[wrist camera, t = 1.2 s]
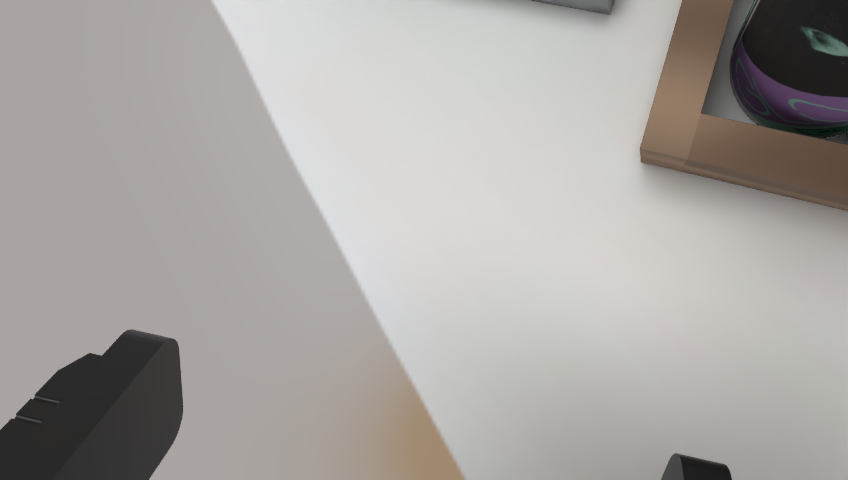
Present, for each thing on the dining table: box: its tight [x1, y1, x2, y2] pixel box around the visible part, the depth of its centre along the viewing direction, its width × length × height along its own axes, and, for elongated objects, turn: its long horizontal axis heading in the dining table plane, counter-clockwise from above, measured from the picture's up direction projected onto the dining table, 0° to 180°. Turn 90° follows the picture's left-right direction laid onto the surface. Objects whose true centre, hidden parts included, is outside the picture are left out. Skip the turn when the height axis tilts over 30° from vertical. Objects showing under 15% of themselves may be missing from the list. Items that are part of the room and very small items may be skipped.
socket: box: [640, 0, 848, 211], centre depth 24 cm, size 10×10×5 cm
